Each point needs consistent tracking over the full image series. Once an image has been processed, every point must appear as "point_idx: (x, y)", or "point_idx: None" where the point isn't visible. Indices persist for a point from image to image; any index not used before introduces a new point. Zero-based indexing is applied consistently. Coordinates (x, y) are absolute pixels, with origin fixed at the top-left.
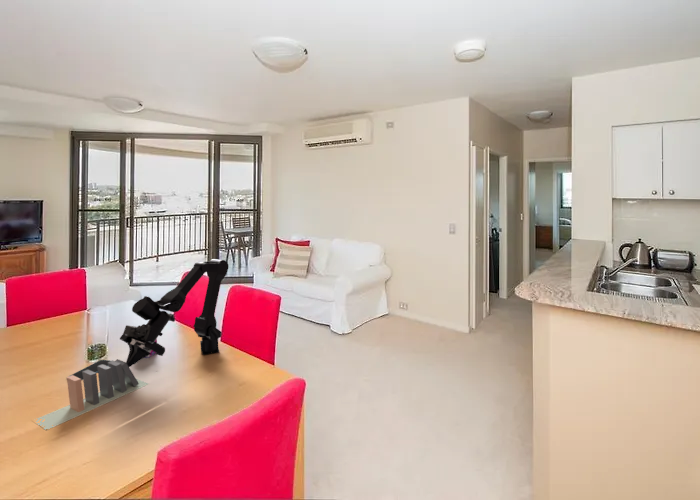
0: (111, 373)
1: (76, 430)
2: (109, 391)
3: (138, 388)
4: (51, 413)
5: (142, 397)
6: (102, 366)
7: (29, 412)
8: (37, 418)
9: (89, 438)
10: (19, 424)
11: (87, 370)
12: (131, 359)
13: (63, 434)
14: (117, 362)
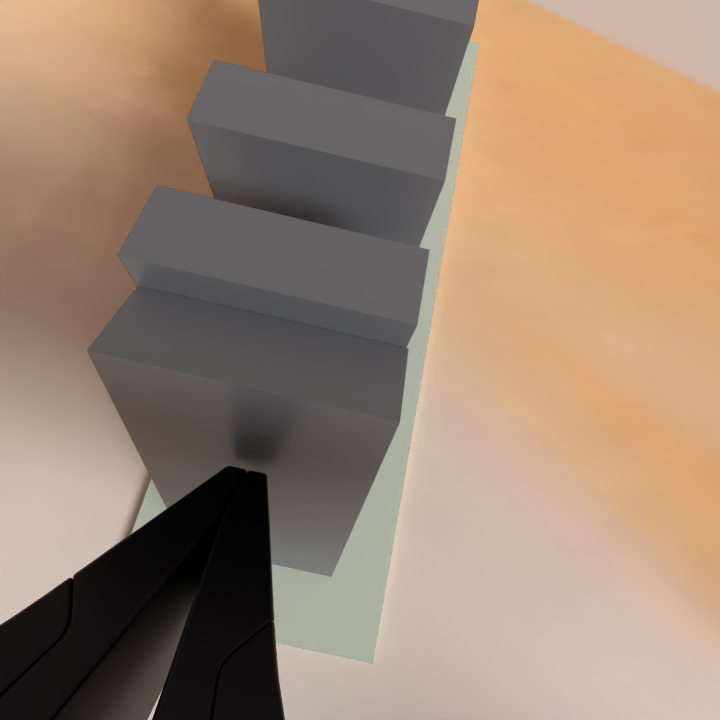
0: (212, 190)
1: (174, 35)
2: None
3: (148, 487)
4: (457, 101)
5: (16, 389)
6: (363, 120)
7: (586, 99)
8: (475, 60)
9: (43, 3)
10: (507, 28)
11: (450, 8)
12: (116, 547)
13: (211, 6)
14: (230, 275)
